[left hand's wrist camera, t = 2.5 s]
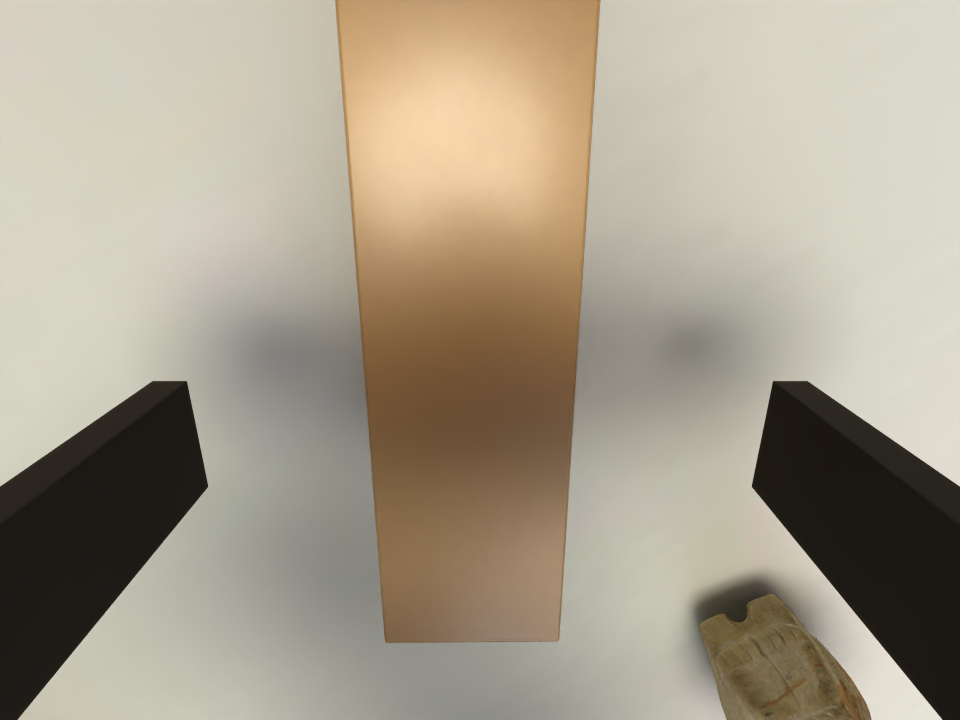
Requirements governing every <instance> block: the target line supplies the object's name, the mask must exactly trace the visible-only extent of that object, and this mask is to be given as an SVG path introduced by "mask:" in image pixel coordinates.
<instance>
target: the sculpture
mask: <svg viewBox="0 0 960 720" xmlns="http://www.w3.org/2000/svg"><path fill="white" fill-rule="evenodd" d="M746 610H747V617H746V619H745V621H743V622H735V621H732V620H731V619H730V618H729V617H728V616H727V615H726V614H724V613H721V614H718V615H715V616H713V617H711V618H708V619H707V620H705V621H703V622H702V623H700V625H699V629H700V633H701V636H702V639H703V641H704V644H705V646H706V649H707V652H708V655H709V658H710V662H711V666H712V671H713V674H714V677H715V680H716V683H717V689H718V693H719V697H720V701H721V704H722V707H723V710H724V713H725V716H726V719H727V720H871V716H870V712H869V709H868V707H867V704H866V702H865V700H864V699H863V697H862V695H861V694H860V692H859V690H858V689H857V687H856V686H855V684H854V682H853V681H852V679H851V678H850V677H849V675H848V674H847V673H846V671H845V670H844V669H843V668H842V666H841V665H840V664H839V663H838V661H837V660H836V659H835V658H834V657H833V656H832V655H831V654H830V652H829V651H828V650H827V649H826V648H825V647H824V646H823V645H822V643H821V642H819V641H818V640H817V639H816V638H815V637H813V636H812V635H811V634H809V633H808V632H807V630H806V629H805V628H804V627H803V626H802V624H801V623H800V622H799V621H798V620H797V618H796V617H795V616H794V615H793V614H792V613H791V611H790V610H789V609H788V608H787V607H786V606H785V605H784V604H783V603H782V602H781V600H780V599H779V598H778V597H777V596H775V595H774V594H767V595H765V596H762V597H760V598H757V599H754V600H752V601H749V602H748V604H747V605H746Z"/></svg>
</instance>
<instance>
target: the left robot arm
mask: <svg viewBox="0 0 960 720" xmlns="http://www.w3.org/2000/svg"><path fill="white" fill-rule="evenodd" d="M207 488H208V483H207V478H206V473H205V468H204V463H203V458H202V453H201V448H200V444H199V439H198V434H197V429H196V424H195V419H194V414H193V409H192V404H191V399H190V394H189V389H188V385H187V381H152V382H151V383H149V384H148V385H146V386H145V387H144V388H142V389H141V390H139V391H138V392H136V393H135V394H133V395H132V396H131V397H129V398H128V399H126V400H125V401H123V402H122V403H120V404H119V405H118V406H116V407H115V408H113V409H112V410H110V411H109V412H107V413H106V414H105V415H103V416H102V417H100V418H99V419H97V420H96V421H94V422H93V423H92V424H90V425H89V426H87V427H86V428H84V429H83V430H81V431H80V432H79V433H77V434H76V435H74V436H73V437H71V438H70V439H68V440H67V441H66V442H64V443H63V444H61V445H60V446H58V447H57V448H55V449H54V450H53V451H51V452H50V453H48V454H47V455H45V456H44V457H42V458H41V459H40V460H38V461H37V462H35V463H34V464H32V465H31V466H29V467H28V468H27V469H25V470H24V471H22V472H21V473H19V474H18V475H16V476H15V477H14V478H12V479H11V480H9V481H8V482H6V483H5V484H3V485H2V486H1V487H0V720H18V718H19V717H20V716H21V715H22V713H23V712H24V711H25V710H26V709H27V707H28V706H29V705H30V704H31V702H32V701H33V700H34V699H35V698H36V696H37V695H38V694H39V693H40V691H41V690H42V689H43V688H44V687H45V685H46V684H47V683H48V682H49V681H50V679H51V678H52V677H53V676H54V674H55V673H56V672H57V671H58V670H59V668H60V667H61V666H62V665H63V663H64V662H65V661H66V660H67V659H68V657H69V656H70V655H71V654H72V652H73V651H74V650H75V649H76V648H77V646H78V645H79V644H80V643H81V641H82V640H83V639H84V638H85V637H86V635H87V634H88V633H89V632H90V630H91V629H92V628H93V627H94V626H95V624H96V623H97V622H98V621H99V619H100V618H101V617H102V616H103V615H104V613H105V612H106V611H107V610H108V608H109V607H110V606H111V605H112V604H113V602H114V601H115V600H116V599H117V597H118V596H119V595H120V594H121V593H122V591H123V590H124V589H125V588H126V586H127V585H128V584H129V583H130V582H131V580H132V579H133V578H134V577H135V575H136V574H137V573H138V572H139V571H140V569H141V568H142V567H143V566H144V564H145V563H146V562H147V561H148V560H149V558H150V557H151V556H152V555H153V553H154V552H155V551H156V550H157V549H158V547H159V546H160V545H161V544H162V543H163V541H164V540H165V539H166V538H167V536H168V535H169V534H170V533H171V532H172V530H173V529H174V528H175V527H176V525H177V524H178V523H179V522H180V521H181V519H182V518H183V517H184V516H185V514H186V513H187V512H188V511H189V510H190V508H191V507H192V506H193V505H194V503H195V502H196V501H197V500H198V499H199V497H200V496H201V495H202V494H203V492H204V491H205V490H206V489H207ZM752 488H753V489H754V490H755V491H756V492H757V494H758V495H759V496H760V497H761V499H762V500H763V501H764V502H765V503H766V505H767V506H768V507H769V508H770V510H771V511H772V512H773V513H774V514H775V516H776V517H777V518H778V519H779V521H780V522H781V523H782V524H783V525H784V527H785V528H786V529H787V530H788V532H789V533H790V534H791V535H792V536H793V538H794V539H795V540H796V541H797V543H798V544H799V545H800V546H801V547H802V549H803V550H804V551H805V552H806V553H807V555H808V556H809V557H810V558H811V560H812V561H813V562H814V563H815V564H816V566H817V567H818V568H819V569H820V571H821V572H822V573H823V574H824V575H825V577H826V578H827V579H828V580H829V582H830V583H831V584H832V585H833V586H834V588H835V589H836V590H837V591H838V593H839V594H840V595H841V596H842V597H843V599H844V600H845V601H846V602H847V604H848V605H849V606H850V607H851V608H852V610H853V611H854V612H855V613H856V615H857V616H858V617H859V618H860V619H861V621H862V622H863V623H864V624H865V626H866V627H867V628H868V629H869V630H870V632H871V633H872V634H873V635H874V637H875V638H876V639H877V640H878V641H879V643H880V644H881V645H882V646H883V648H884V649H885V650H886V651H887V652H888V654H889V655H890V656H891V657H892V659H893V660H894V661H895V662H896V663H897V665H898V666H899V667H900V668H901V670H902V671H903V672H904V673H905V674H906V676H907V677H908V678H909V679H910V681H911V682H912V683H913V684H914V685H915V687H916V688H917V689H918V690H919V691H920V693H921V694H922V695H923V696H924V698H925V699H926V700H927V701H928V702H929V704H930V705H931V706H932V707H933V709H934V710H935V711H936V712H937V713H938V715H939V716H940V717H941V718H942V720H960V487H959V486H958V485H957V484H955V483H954V482H952V481H951V480H949V479H948V478H946V477H945V476H944V475H942V474H941V473H939V472H938V471H936V470H935V469H933V468H932V467H931V466H929V465H928V464H926V463H925V462H923V461H922V460H920V459H919V458H918V457H916V456H915V455H913V454H912V453H910V452H909V451H907V450H906V449H905V448H903V447H902V446H900V445H899V444H897V443H896V442H894V441H893V440H892V439H890V438H889V437H887V436H886V435H884V434H883V433H881V432H880V431H879V430H877V429H876V428H874V427H873V426H871V425H870V424H868V423H867V422H866V421H864V420H863V419H861V418H860V417H858V416H857V415H855V414H854V413H853V412H851V411H850V410H848V409H847V408H845V407H844V406H842V405H841V404H840V403H838V402H837V401H835V400H834V399H832V398H831V397H829V396H828V395H827V394H825V393H824V392H822V391H821V390H819V389H818V388H816V387H815V386H814V385H812V384H811V383H809V382H808V381H773V385H772V389H771V394H770V399H769V404H768V409H767V414H766V419H765V424H764V429H763V434H762V439H761V444H760V448H759V453H758V458H757V463H756V468H755V473H754V478H753V483H752Z"/></svg>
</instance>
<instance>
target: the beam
mask: <svg viewBox="0 0 960 720" xmlns="http://www.w3.org/2000/svg"><path fill="white" fill-rule="evenodd" d="M335 3H336V16H337V29H338V42H339V55H340V68H341V81H342V94H343V107H344V120H345V132H346V145H347V158H348V171H349V184H350V197H351V210H352V223H353V236H354V249H355V262H356V274H357V287H358V300H359V313H360V326H361V339H362V352H363V365H364V378H365V391H366V404H367V416H368V429H369V442H370V455H371V468H372V481H373V494H374V507H375V520H376V533H377V546H378V559H379V571H380V584H381V597H382V610H383V623H384V636H385V642H386V643H428V642H542V641H558V640H559V635H560V619H561V604H562V588H563V572H564V557H565V541H566V526H567V510H568V495H569V479H570V464H571V448H572V432H573V417H574V401H575V386H576V370H577V355H578V339H579V324H580V308H581V292H582V277H583V261H584V246H585V230H586V215H587V199H588V184H589V168H590V152H591V137H592V121H593V106H594V90H595V75H596V59H597V44H598V28H599V12H600V0H335Z"/></svg>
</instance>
